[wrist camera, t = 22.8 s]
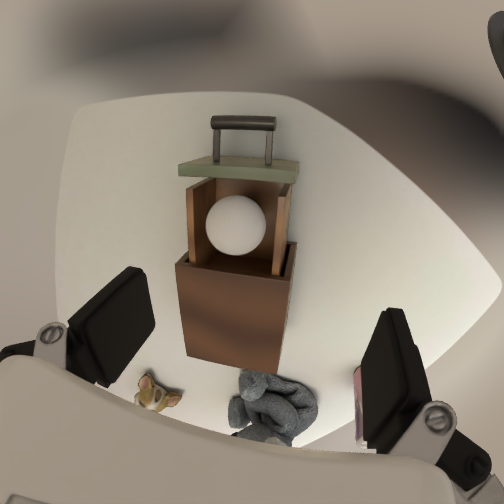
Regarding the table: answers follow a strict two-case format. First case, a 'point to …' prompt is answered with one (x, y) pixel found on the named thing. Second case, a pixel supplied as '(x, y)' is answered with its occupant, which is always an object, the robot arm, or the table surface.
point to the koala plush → (271, 409)
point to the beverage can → (358, 410)
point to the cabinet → (234, 313)
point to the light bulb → (236, 224)
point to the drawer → (244, 184)
